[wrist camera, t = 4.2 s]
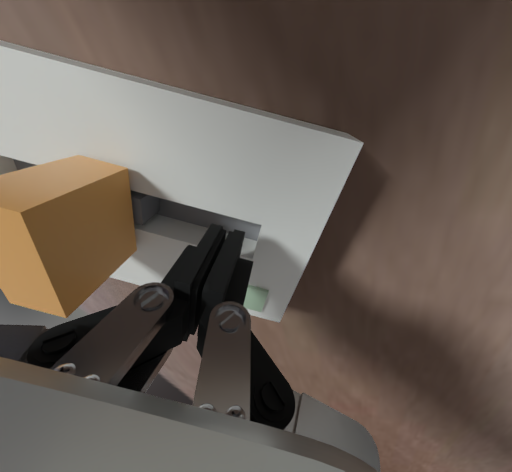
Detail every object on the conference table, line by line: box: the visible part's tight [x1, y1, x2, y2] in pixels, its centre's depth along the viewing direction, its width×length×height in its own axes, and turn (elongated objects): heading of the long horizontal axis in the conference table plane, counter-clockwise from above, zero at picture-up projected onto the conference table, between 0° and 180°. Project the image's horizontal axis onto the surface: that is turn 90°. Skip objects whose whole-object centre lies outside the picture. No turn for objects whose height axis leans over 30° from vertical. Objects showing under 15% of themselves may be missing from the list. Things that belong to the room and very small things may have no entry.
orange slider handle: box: [0, 155, 160, 318], centre depth 10 cm, size 3×5×7 cm, turn 167°
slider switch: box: [0, 40, 364, 323], centre depth 13 cm, size 22×12×3 cm, turn 77°
